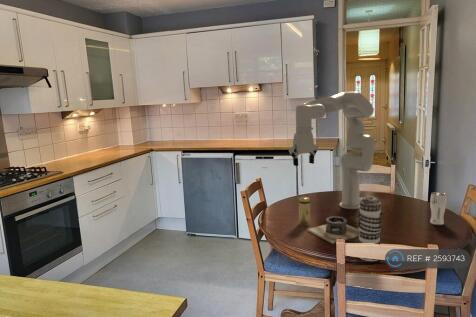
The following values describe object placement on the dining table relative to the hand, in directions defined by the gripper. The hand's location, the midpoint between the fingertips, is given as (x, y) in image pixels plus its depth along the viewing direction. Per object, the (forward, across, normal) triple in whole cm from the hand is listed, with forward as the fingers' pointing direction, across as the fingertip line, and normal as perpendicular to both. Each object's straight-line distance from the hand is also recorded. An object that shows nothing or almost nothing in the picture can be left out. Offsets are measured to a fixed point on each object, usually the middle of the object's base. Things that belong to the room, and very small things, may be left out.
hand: (303, 164), depth 180 cm
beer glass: (+31, -56, +34) cm, 73 cm away
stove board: (+32, -6, +17) cm, 36 cm away
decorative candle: (+32, 0, +43) cm, 53 cm away
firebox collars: (+32, -6, +17) cm, 36 cm away
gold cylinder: (+32, 0, 0) cm, 32 cm away
